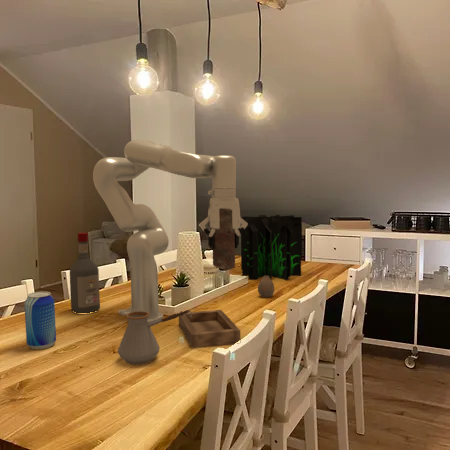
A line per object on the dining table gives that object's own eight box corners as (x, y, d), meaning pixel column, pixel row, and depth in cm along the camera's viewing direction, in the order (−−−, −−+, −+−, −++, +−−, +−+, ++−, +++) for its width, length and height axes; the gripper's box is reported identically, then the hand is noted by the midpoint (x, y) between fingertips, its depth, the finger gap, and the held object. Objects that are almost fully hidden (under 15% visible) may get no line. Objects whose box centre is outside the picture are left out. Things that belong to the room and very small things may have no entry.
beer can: (38, 352, 142) (36, 298, 140) (20, 347, 146) (18, 295, 145) (62, 343, 149) (59, 292, 147) (44, 339, 153) (41, 289, 152)
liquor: (102, 310, 185) (99, 232, 182) (81, 316, 179) (78, 235, 176) (89, 306, 192) (86, 231, 189) (68, 311, 185) (65, 233, 182)
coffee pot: (110, 365, 131) (108, 311, 130) (129, 350, 143) (127, 300, 141) (185, 372, 126) (184, 316, 125) (198, 356, 137) (197, 304, 136)
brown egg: (273, 299, 200) (273, 278, 199) (256, 298, 202) (256, 277, 201) (275, 295, 207) (275, 274, 206) (259, 294, 208) (259, 274, 207)
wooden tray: (191, 348, 144) (191, 334, 143) (178, 324, 167) (178, 313, 167) (240, 343, 148) (240, 330, 147) (221, 320, 171) (221, 309, 170)
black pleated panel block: (308, 273, 253) (309, 215, 250) (283, 284, 228) (284, 220, 225) (260, 268, 268) (259, 213, 265) (231, 277, 243) (231, 218, 240)
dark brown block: (208, 269, 158) (209, 208, 156) (216, 265, 165) (217, 206, 163) (230, 271, 155) (231, 208, 153) (238, 267, 162) (238, 207, 160)
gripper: (200, 194, 151) (200, 250, 153) (253, 194, 156) (252, 248, 158) (195, 193, 158) (195, 247, 160) (245, 193, 163) (245, 245, 165)
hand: (223, 247), depth 159 cm, fingers closed on dark brown block, 7 cm apart
